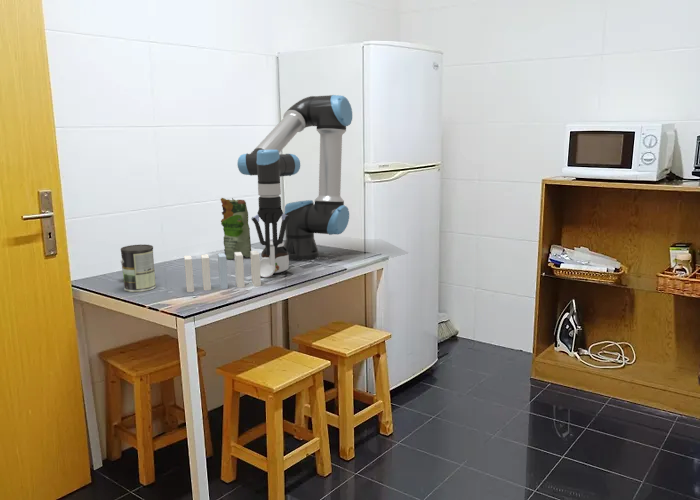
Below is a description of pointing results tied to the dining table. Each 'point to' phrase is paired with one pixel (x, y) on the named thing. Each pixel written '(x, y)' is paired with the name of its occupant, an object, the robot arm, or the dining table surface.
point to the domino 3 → (222, 271)
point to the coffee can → (138, 268)
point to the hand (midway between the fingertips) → (272, 264)
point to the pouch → (235, 228)
